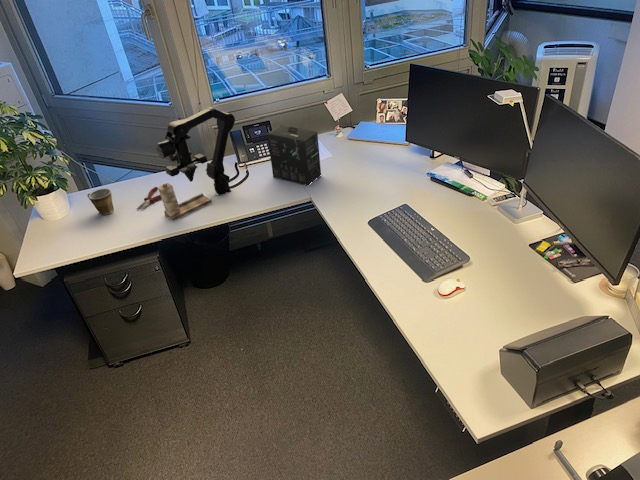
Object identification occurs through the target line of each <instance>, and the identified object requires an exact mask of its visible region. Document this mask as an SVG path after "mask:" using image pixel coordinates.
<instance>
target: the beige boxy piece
mask: <svg viewBox="0 0 640 480" xmlns="http://www.w3.org/2000/svg"><path fill="white" fill-rule="evenodd" d="M157 188H158V192H159V195H161V198H162V199H161V201H162V203H163V207H164V211H165V210H166V213H167V214H168V215H169V216H173V215H176V214H178V213H180V208H179V205H178V204H179V202H178V200H177V195H176V193H175V190H174V187H173V184H171V183H169V182H166V183H163V184H162V185H160V186H157Z"/></svg>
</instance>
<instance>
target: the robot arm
mask: <svg viewBox="0 0 640 480" xmlns="http://www.w3.org/2000/svg"><path fill="white" fill-rule="evenodd" d="M212 118H213V119H216V125H217V136H216V141H215V146H214V150H213V151H214V152H213V156H212V160H211V161H210V162H208V157H207V156H206V155H204V154H202V153H198V154H195V155H193V156H192V151H190V149H189V145H188V141H187V140H189V139H191V136H190V135H188V133H189V132H190V131H191V130H192V129H193V128H195V127H197V126H199V125H201V124H203V123H205V122H207V121H208V120H210V119H212ZM235 122H236V117H235V116H234V114H232V113H230V112H226V111H220V110H218V109H216V108H215V107H211V106H207V107H206V108H204V109H202V110H201V111H199V112H197V113H195V114H192V115H191V116H189V117H187V118H183V119H178V120H173V121H170V122H169V123H168V126H167V131H166V134H165V137H164V139H165V140H163V141H159V142H157V143H156V152H157V154H158V156H159V157H160V158H161V159H163V160H164V159H166V158H168V160H169V162H170V163H173V162H174V163H176V164H177V165H174V164H172V165H169V166H167V167H165V174H167V175H169V176H170V177H175V176H178V175H179V174H180V173H182V174H184V175H185V177H186V178H187V179H188V180H189V182H190V183H192V182H193V181H194V176H195V172H196V169H198V165H196V164H197V163H198V162H199V163H200V164H202V165H203V164H205V163H207V164H206V169H205V172H206V175H207V177H208V178H210V179H212V180H213V188H214V191H215V193H216V194H217V195H218V196H220V195H225V194H228V193H231V192H232V190H231V188H230V184H229V181H230V175H228V174H226V173H225V167H224V166H225V165H224V158H225V153H226V148H227V143H228V138H229V133H230V132H231V131H232V129H233V128H234V125H235ZM173 136H174V137H173ZM192 158H193V159H192Z"/></svg>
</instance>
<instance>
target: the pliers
mask: <svg viewBox="0 0 640 480" xmlns="http://www.w3.org/2000/svg"><path fill="white" fill-rule="evenodd" d="M157 191H159V189H158V186H155V187H153V188H151V189H150V190H149V192H148V194H147V196H146V197H145V198H144V199H143V200H144V201H143V202H141V203H140V204H139V205H138V207H137V208H136V210H139V209H140V210H141V211H142V210H144V209H146V208H147V207H148V206H150V204H155V202H158V201H161V200H162V198H161V195H160V194H157V195H156V196H153V194H154V193H156V192H157Z"/></svg>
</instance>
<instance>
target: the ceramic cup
mask: <svg viewBox="0 0 640 480" xmlns="http://www.w3.org/2000/svg"><path fill="white" fill-rule="evenodd" d="M87 198H88V200H89V201H90V203H91V204H92V205H93V207H95V209H96V210H97V212H98V214H100V215H101V216H109V215H111V214H112V213H114V212H115V207H114V203H113V195H112V190H111V189H109V188H100V189H96V190H94V191H92V192H91V193H88V194H87Z"/></svg>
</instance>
